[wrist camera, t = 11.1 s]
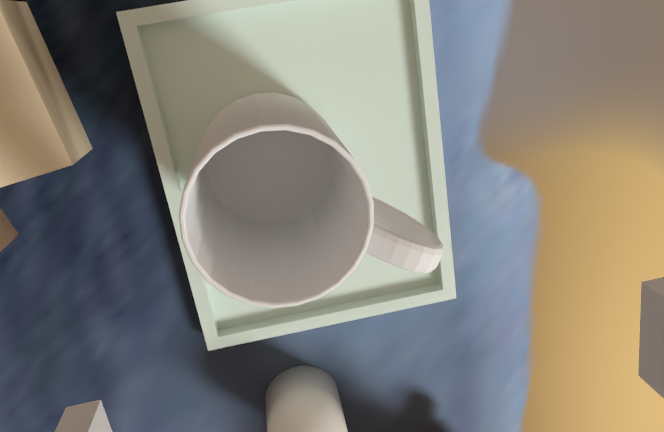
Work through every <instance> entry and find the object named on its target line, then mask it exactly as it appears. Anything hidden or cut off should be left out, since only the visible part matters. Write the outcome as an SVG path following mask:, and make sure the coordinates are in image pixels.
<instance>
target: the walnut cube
mask: <svg viewBox="0 0 664 432" xmlns="http://www.w3.org/2000/svg"><path fill="white" fill-rule="evenodd" d="M17 235H18V232H17V231H16V230H15V228H14V227H13V225H12V224H11V223H10V221H9V220H8V218H7V217H6V215H5V214H4V213H3V211H2V210H1V208H0V251H1V250H3V249H4V248H5V247H6V246H7V245H8V244H9V243H10V242H11V241H12V240H13V239H14V238H15V237H16V236H17Z"/></svg>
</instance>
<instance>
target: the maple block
mask: <svg viewBox="0 0 664 432" xmlns="http://www.w3.org/2000/svg"><path fill="white" fill-rule="evenodd" d="M92 149H93V148H92V146H91V144H90V142H89V139H88V137H87V135H86V133H85V131H84V128H83V126H82V124H81V122H80V119H79V117H78V115H77V113H76V111H75V108H74V106H73V104H72V102H71V99H70V97H69V95H68V93H67V91H66V88H65V86H64V84H63V82H62V79H61V77H60V75H59V73H58V71H57V68H56V66H55V64H54V62H53V59H52V57H51V55H50V53H49V51H48V48H47V46H46V44H45V42H44V39H43V37H42V35H41V33H40V31H39V28H38V26H37V24H36V22H35V19H34V17H33V15H32V13H31V11H30V8H29V6H28V4H27V2H22V1H10V0H0V187H3V186H7V185H10V184H13V183H16V182H19V181H23V180H26V179H29V178H32V177H36V176H39V175H42V174H45V173H48V172H52V171H55V170H58V169H61V168H64V167H68V166H71V165H73V164H74V163H76V162H77V161H78V160H79V159H81V158H82V157H83V156H84V155H85V154H87V153H88V152H89V151H90V150H92Z"/></svg>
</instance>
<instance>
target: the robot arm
mask: <svg viewBox="0 0 664 432" xmlns="http://www.w3.org/2000/svg"><path fill="white" fill-rule="evenodd" d="M639 376H640V377H641V378H642V379H643V380H644V381H645V382H646V383H648V384H649V385H650V386H651V387H652V388H653V389H654V390H655V391H656V392H657V393H658V394H660V395H661V396H662V397H663V398H664V277H663V278H658V279H653V280H649V281H644V282H642V289H641V319H640V348H639ZM55 432H112V430H111V427H110V424H109V422H108V419H107V416H106V413H105V411H104V408H103V405H102V402H101V400H97V401H93V402H88V403H83V404H79V405H74V406H70V407H66V409H65V411H64V413H63V415H62V418H61V420H60V422H59V424H58V426H57V428H56V430H55Z"/></svg>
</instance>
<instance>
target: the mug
mask: <svg viewBox="0 0 664 432" xmlns="http://www.w3.org/2000/svg"><path fill="white" fill-rule="evenodd" d="M179 223H180V232H181V240H182V242H183V245H184V247H185V249H186V252H187V254H188V256H189V259H190V261H191V263H192V264H193V265H194V267H195V268H196V269H197V270H198V272H199V273H200V274H201V275H202V277H203V278H204V279H205V280H206V281H207V282H208V283H209V284H211V285H212V286H213V287H215V288H216V289H217V290H219V291H220V292H222V293H223V294H224V295H226V296H228V297H231V298H233V299H236V300H238V301H241V302H243V303H245V304H248V305H255V306H262V307H268V308H278V307H289V306H297V305H300V304H303V303H306V302H309V301H312V300H315V299H318V298H320V297H322V296H323V295H325V294H327V293H328V292H330V291H331V290H333V289H335V288H336V287H338V286H339V285H340V284H341V283H342V282H343V281H344V280H345V279H346V278H347V277H348V276H349V275H350V274H351V273H352V272H353V271H354V270H355V269H356V267H357V266H358V264H359V262H360V260H361V259H362V257H363V255H364V253H365V252H366V253H368V254H370V255H372V256H374V257H376V258H378V259H380V260H382V261H385V262H387V263H389V264H392V265H394V266H397V267H399V268H403V269H406V270H409V271H412V272H418V273H430V272H432V271H433V270H434V269H435V268H436V267H437V266H438V264H439V262H440V259H441V257H442V255H443V253H444V248H443V244H442V242H441V241H440V240H439V238H438V237H437V236H436V235H435V234H434V233H433V232H431V231H430V230H429V229H428V228H427V227H425V226H424V225H422V224H421V223H419V222H418V221H417V220H415V219H413V218H412V217H410V216H408V215H407V214H405V213H403V212H402V211H400V210H398V209H396V208H394V207H392V206H390V205H388V204H386V203H384V202H382V201H380V200H378V199H376V198H374V197H372V195H371V191H370V188H369V184H368V181H367V178H366V177H365V175H364V173H363V172H362V170H361V169H360V167H359V165H358V164H357V162H356V161H355V159H354V157H353V156H352V155H351V154H350V152H349V151H348V150H347V148H346V147H345V146H344V145H343V143H342V142H341V141H340V139H339V138H338V137H337V135H336V134H335V133H334V132H333V130H332V129H331V128H330V126H329V125H328V124H327V123H326V121H325V120H324V119H323V117H322V116H320V115H319V114H318V113H317V112H316V111H315V110H314V109H313V108H312V107H311V106H310V105H308V104H306V103H304V102H302V101H300V100H298V99H297V98H295V97H293V96H288V95H284V94H279V93H275V92H274V93H255V94H252V95H249V96H246V97H243V98H240V99H237V100H236V101H234V102H233V103H231V104H230V105H228V106H226V107H225V108H223V109H222V110H221V111H220V112H219V113H218V115H217V116H216V117H215V118H214V119H213V120H212V121H211V123H210V124H209V126H208V128H207V130H206V132H205V135H204V137H203V139H202V141H201V144H200V146H199V149H198V152H197V154H196V157H195V160H194V162H193V165H192V168H191V170H190V173H189V175H188V178H187V181H186V183H185V186H184V189H183V192H182V198H181V204H180V210H179Z"/></svg>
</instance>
